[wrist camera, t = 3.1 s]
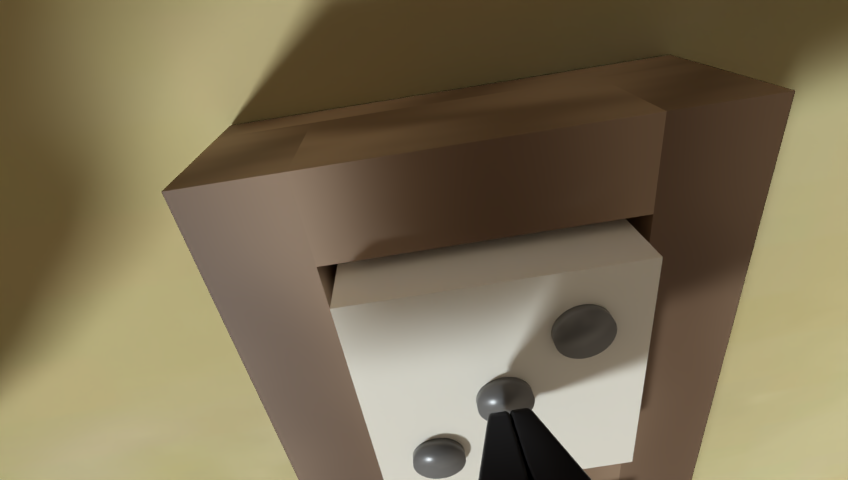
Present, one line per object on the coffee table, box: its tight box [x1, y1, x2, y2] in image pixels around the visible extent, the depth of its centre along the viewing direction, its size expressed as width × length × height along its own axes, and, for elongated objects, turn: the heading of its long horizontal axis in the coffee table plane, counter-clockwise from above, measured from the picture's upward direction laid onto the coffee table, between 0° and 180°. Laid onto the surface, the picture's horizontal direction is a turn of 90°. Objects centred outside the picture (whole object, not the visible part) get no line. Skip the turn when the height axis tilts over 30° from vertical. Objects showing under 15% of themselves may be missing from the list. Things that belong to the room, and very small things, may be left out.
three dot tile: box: [330, 219, 663, 480], centre depth 11 cm, size 6×6×3 cm
